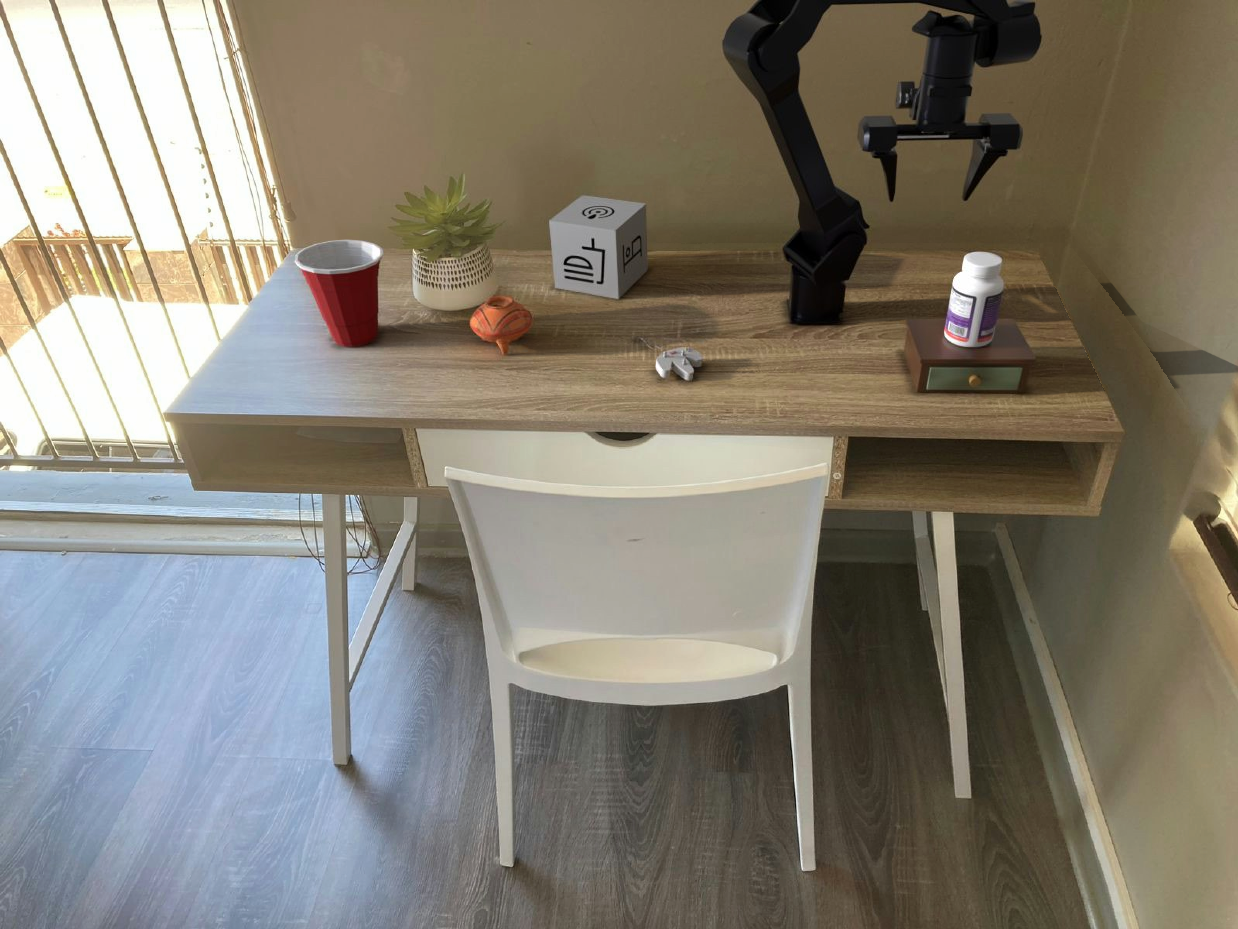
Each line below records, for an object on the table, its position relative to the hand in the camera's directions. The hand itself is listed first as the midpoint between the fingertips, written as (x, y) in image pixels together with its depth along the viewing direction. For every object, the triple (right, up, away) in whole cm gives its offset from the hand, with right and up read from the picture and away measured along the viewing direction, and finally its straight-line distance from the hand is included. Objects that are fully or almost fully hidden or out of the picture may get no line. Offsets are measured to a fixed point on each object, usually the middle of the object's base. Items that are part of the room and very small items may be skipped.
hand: (927, 200), depth 121 cm
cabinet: (+1, -23, -9) cm, 25 cm away
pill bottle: (+1, -19, -12) cm, 23 cm away
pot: (-54, -18, +1) cm, 57 cm away
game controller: (-34, -21, -4) cm, 40 cm away
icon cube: (-42, -7, +15) cm, 45 cm away
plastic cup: (-74, -17, +4) cm, 76 cm away
